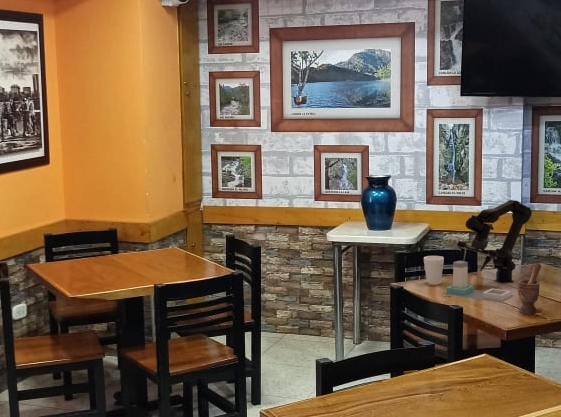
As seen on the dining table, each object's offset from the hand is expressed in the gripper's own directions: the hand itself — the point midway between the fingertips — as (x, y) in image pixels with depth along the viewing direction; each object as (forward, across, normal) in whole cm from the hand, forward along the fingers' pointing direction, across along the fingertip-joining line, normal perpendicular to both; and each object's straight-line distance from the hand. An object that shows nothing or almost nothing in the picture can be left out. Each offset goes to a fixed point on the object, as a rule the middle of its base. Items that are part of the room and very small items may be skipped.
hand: (471, 267), depth 377 cm
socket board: (+13, +8, -8) cm, 17 cm away
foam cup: (+12, -16, +10) cm, 22 cm away
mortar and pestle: (+14, +31, -25) cm, 43 cm away
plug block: (+13, -1, -5) cm, 14 cm away
